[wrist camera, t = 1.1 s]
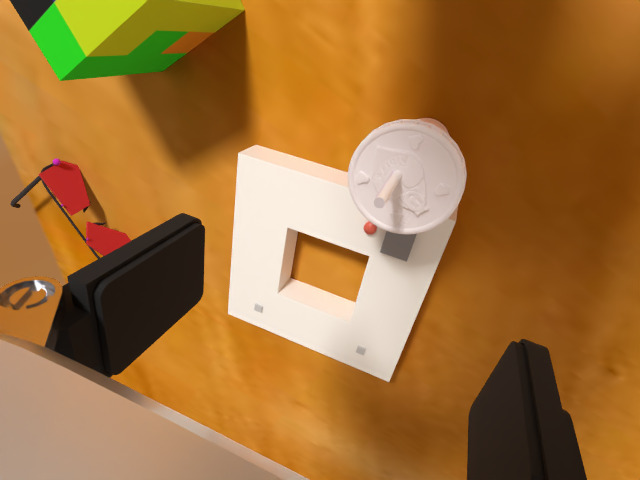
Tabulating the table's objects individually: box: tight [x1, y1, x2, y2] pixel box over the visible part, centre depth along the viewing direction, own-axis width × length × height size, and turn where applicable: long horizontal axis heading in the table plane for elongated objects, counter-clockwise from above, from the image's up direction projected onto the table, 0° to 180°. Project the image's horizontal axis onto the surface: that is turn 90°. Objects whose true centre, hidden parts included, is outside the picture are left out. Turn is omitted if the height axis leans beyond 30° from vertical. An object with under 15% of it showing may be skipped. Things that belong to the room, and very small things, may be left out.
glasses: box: [11, 159, 131, 259], centre depth 46 cm, size 14×16×5 cm
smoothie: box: [348, 118, 467, 234], centre depth 23 cm, size 6×6×14 cm
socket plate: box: [228, 145, 458, 382], centre depth 35 cm, size 18×18×4 cm
